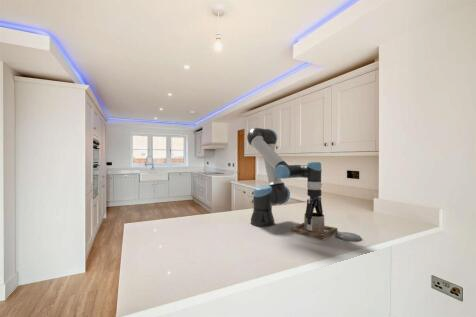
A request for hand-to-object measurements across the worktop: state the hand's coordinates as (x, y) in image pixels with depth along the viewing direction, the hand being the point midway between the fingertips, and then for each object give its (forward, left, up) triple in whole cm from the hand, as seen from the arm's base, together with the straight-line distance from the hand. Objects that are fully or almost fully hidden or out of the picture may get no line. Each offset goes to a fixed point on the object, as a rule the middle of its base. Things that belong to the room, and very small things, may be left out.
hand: (314, 227), depth 125 cm
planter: (0, 0, -2) cm, 2 cm away
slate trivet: (+17, +3, -2) cm, 17 cm away
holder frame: (0, 0, -2) cm, 2 cm away
